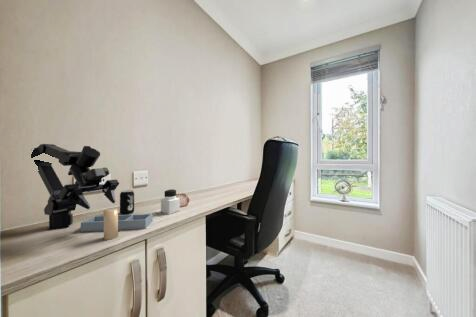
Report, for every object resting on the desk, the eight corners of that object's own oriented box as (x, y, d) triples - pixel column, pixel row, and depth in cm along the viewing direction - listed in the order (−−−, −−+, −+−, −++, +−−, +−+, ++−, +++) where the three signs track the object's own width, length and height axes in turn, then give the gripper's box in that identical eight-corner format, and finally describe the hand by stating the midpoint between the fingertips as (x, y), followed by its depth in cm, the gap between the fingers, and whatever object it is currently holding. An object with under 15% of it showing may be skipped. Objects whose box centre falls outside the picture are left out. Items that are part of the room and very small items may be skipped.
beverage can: (123, 215, 95) (123, 192, 96) (117, 213, 99) (117, 191, 99) (136, 212, 101) (136, 190, 101) (130, 210, 105) (130, 189, 105)
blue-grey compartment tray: (80, 231, 75) (80, 222, 75) (94, 224, 83) (94, 216, 83) (145, 228, 78) (145, 219, 78) (152, 221, 86) (152, 213, 86)
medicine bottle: (180, 211, 103) (180, 189, 103) (169, 214, 97) (169, 191, 97) (171, 209, 107) (171, 188, 107) (160, 212, 101) (160, 190, 101)
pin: (102, 240, 66) (102, 212, 66) (104, 236, 70) (104, 209, 70) (117, 238, 68) (117, 210, 68) (118, 234, 72) (118, 208, 72)
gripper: (63, 161, 64) (83, 195, 60) (116, 160, 81) (134, 187, 77) (50, 183, 67) (69, 217, 63) (104, 178, 84) (121, 205, 80)
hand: (102, 205), depth 71 cm, fingers open, 9 cm apart
